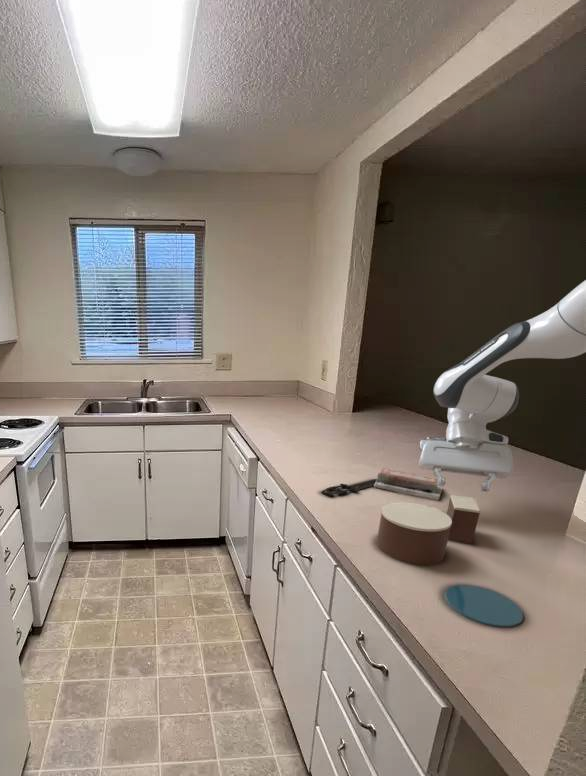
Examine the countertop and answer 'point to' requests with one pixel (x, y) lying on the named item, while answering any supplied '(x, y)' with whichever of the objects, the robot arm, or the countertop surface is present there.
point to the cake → (413, 532)
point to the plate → (484, 606)
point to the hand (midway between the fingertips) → (462, 487)
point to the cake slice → (463, 518)
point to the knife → (348, 488)
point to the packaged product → (408, 484)
